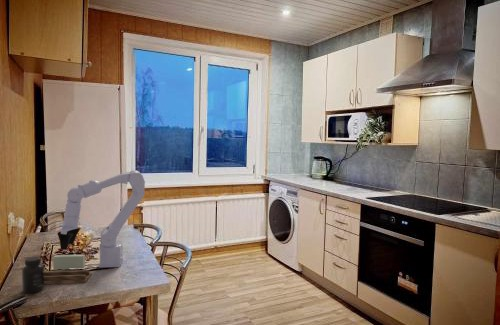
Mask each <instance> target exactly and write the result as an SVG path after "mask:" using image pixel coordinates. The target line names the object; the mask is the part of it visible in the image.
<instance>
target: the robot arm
mask: <svg viewBox="0 0 500 325" xmlns="http://www.w3.org/2000/svg"><path fill="white" fill-rule="evenodd" d="M118 184H125V185H128V184H130V187H131V190H132V193H131V195H130V196H129V198H128V199H127V200H126V202H125V204H124V205H122V208H121V209H120V210H119V212H118V213H117V214H116V215H115V217H114V218H113V220H112V221H111V222H110V223H109V224H108V225H107V227H105V228H103V229H102V231H101V233H100V239H99V240H100V243H99V263H97V266H96V268H97V267H99V268H120V267H121V265H122V263H123V262H124V258H123V257H124V254H123V252H124V251H123V250H124V246H123V244H118V242H117V237H118V236H119V234H120V232H121V230H122V228H123V227H124V225H125V224H126V222H127V221H128V219H129V218H130V217H131V215H132V214H133V213H134V211H135V209H136V208H137V207H138V205H139V203H141V200H143V198H144V196H145V190H146V189H145V185H146V181H145V178H144V175H143V174H142V173H141V172H140V171H139V170H136V169H133V170H131V171H126V172H122V173H119V174H117V175H114V176H112V177H109V178H106V179H104V180H102V181H101V180H100V181H98V180H93V179H91V180H89V181H88V182H87V183H84V184H78V185H77V186H73V187H71V188H70V189H69V191H67V195H66V196H67V200H66V205H65V209H64V210H65V211H64V215H63V223H61V224H59V227H61V230H60V231H58V232H57V236H58V237H57V238H58V239H59V243H60V244H59V245H60V250H64V251H66V250H68V248H69V247H68V246H69V245H74V243H75V241H76V238H77V235H78V234H79V232H80V231H81V227H79V223H80V222H79V220H80V214H81V208H82V205H81V204H82V200H83V199H87V198H88V197H91V196H94V195H98V194H100V193H101V192H102V189H103V190H104V189H106V188H109V187H112V186H115V185H118Z"/></svg>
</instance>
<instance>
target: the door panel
mask: <svg viewBox="0 0 500 325" xmlns="http://www.w3.org/2000/svg"><path fill="white" fill-rule="evenodd" d="M52 261H53V262H52V263H53V265H52V266H53V269H69V268H84V267H85V268H86V255H85V254H54V255H53V258H52ZM85 268H84V269H85Z"/></svg>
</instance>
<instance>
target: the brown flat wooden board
mask: <svg viewBox="0 0 500 325" xmlns="http://www.w3.org/2000/svg"><path fill="white" fill-rule="evenodd" d="M92 275H93V274H92V272H90V270H89V269H87V270H85V269H83V270H53V271H44V285H65V284H66V285H67V284H85V283H87V282H88V280H89V279H90V277H91V276H92Z"/></svg>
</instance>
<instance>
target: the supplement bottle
mask: <svg viewBox="0 0 500 325" xmlns="http://www.w3.org/2000/svg"><path fill="white" fill-rule="evenodd" d="M24 265H25V266H24V267H23V268H22V270H21V280H22V282H21V283H22V285H21V286H22V288H21V290H22V292H23V293H24V294H26V295H27V294H28V295H30V294H31V295H32V294H33V295H34V294H36V293H39V292H41V291H43V289H44V288H45V284H44V272H45V267H44V265H43V263H42V261H41V257H40V256H31V257H27V258H26V259H25V261H24Z"/></svg>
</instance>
